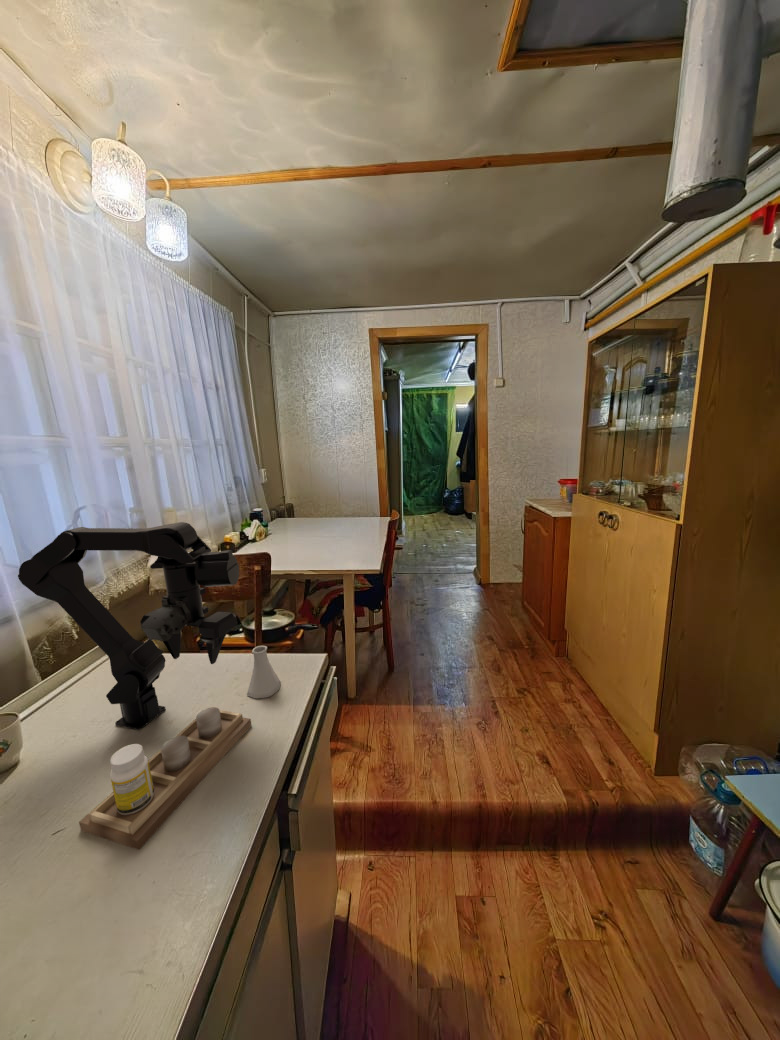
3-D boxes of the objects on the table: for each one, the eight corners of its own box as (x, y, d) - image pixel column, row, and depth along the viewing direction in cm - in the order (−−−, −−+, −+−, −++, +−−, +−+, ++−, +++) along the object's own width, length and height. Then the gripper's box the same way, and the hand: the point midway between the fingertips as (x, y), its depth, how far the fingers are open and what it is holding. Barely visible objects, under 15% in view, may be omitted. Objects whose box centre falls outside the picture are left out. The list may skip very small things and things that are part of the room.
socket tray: (80, 830, 55) (74, 801, 54) (205, 716, 78) (202, 695, 77) (139, 849, 52) (132, 819, 51) (251, 725, 75) (248, 702, 74)
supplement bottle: (129, 789, 60) (120, 742, 58) (160, 786, 60) (152, 739, 58) (109, 818, 55) (99, 768, 53) (143, 814, 55) (134, 764, 54)
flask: (271, 701, 82) (266, 658, 80) (241, 698, 83) (235, 656, 82) (286, 681, 89) (282, 641, 87) (258, 679, 90) (253, 640, 89)
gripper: (107, 600, 69) (122, 677, 72) (189, 607, 64) (202, 691, 67) (159, 580, 80) (171, 648, 82) (234, 584, 74) (243, 657, 77)
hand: (194, 660), depth 77 cm, fingers open, 9 cm apart
